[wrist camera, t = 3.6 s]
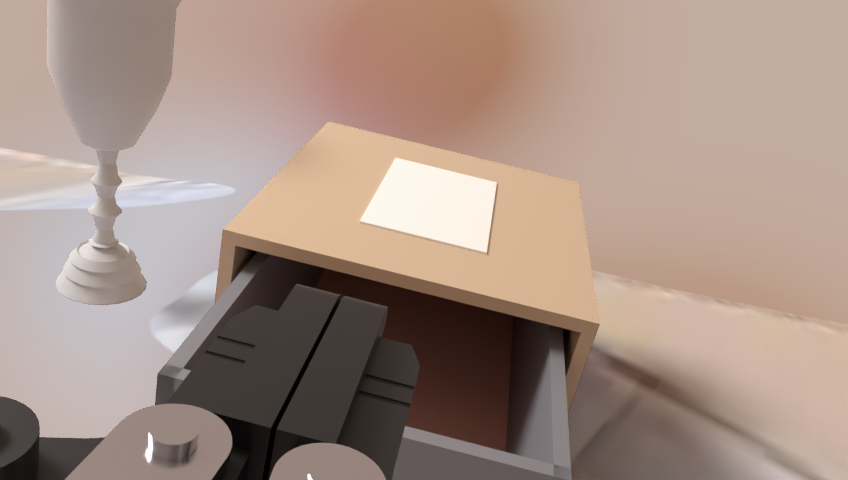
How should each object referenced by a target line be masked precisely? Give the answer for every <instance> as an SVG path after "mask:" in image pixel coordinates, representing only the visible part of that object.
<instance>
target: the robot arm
mask: <svg viewBox="0 0 848 480" xmlns="http://www.w3.org/2000/svg"><path fill="white" fill-rule="evenodd" d="M387 312H388V307H386V306H382V305H378V304H374V303H371V302H367V301H363V300H359V299H355V298H351V297H347V296H344V297H343V298H342V300H341V295H339V294H335V293H331V292H327V291H323V290H319V289H316V288H312V287H308V286H304V285H300V284H296V285H295V286H294V287H293V289H292V291H291V292H290V294H289V295H288V297H287V298H286V300H285V301H284V303H283V304H282V306H281V308H280V309H279V311H277V310H274V309H270V308H266V307H262V306H258V305H255V306H253V307H251V308H249V309H247V310H245V311H243V312H241V313H239V314H237V315H235V316H233V317H231V318H230V320H229V321H228V322H227V324H226V325H225V326H224V328H223V329H222V330H221V332H220V333H219V334H218V336H217V339H215V340H214V341H213V342H212V344H211V345H210V346H209V348H208V349H207V350H206V354H205V355H204V354H203V356H202V357H201V358H200V360H199V361H198V362H197V363H196V365H195V366H194V367H193V369H192V370H191V371H190V373H189V374H188V375H187V377H186V378H185V379H184V381H183V382H182V383H181V385H180V386H179V387H178V389H177V390H176V391H175V393H174V394H173V395H172V397H171V398H170V399H169V401H168V402H167V403H166V404H160V405H155V406H150V407H147V408H143V409H141V410H139V411H136V412H134V413H132V414H131V415H129V416H127V417H126V418H125V419H124V420H122V421H121V422H120V423H119V424H118V425H117V426H116V427H115V428H114V429H113V430H112V431H111V432H110V433H109V434H108V435H107V436H106V437H105V438H90V439H82V438H44V437H39V429H40V428H39V421H38V419H37V417H36V415H35V413H34V412H33V411H32V410H31V409H30V408H29V407H27V406H26V405H24V404H22V403H20V402H18V401H16V400H13V399H10V398H6V397H0V480H392V478H393V472H394V468H395V464H396V460H397V456H398V452H399V448H400V444H401V440H402V436H403V432H404V429H405V425H406V421H407V417H408V413H409V409H410V405H411V401H412V397H413V393H414V389H415V385H416V381H417V377H418V373H419V369H420V364H419V362H418V359H417V357H416V354H415V352H414V349H413V347H412V345H409V344H406V343H402V342H398V341H394V340H390V339H386V338H382V336H383V331H384V327H385V322H386V318H387Z"/></svg>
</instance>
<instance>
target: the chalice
mask: <svg viewBox="0 0 848 480" xmlns="http://www.w3.org/2000/svg"><path fill="white" fill-rule="evenodd" d="M180 2H181V0H47V66H48V69H49V72H50V74H51V77H52V80H53V83H54V85H55V88H56V91H57V94H58V97H59V99H60V101H61V103H62V105H63V107H64V109H65V111H66V113H67V115H68V117H69V119H70V121H71V123H72V125H73V127H74V129H75V130H76V132H77V134H78V136H79V138H80V140H81V142H82V143H84V144H85V145H87V146H90V147H92V148H95V149H97V154H98V160H99V162H98V166H97V170H96V173H95V175H94V176H93V177H92V178H91V182H92V183H93V184H94V186H95V188H96V192H97V198H96V201H95V204H94V205H92V206H91V207H90V208H89V209H88V211H89V213H90V214H92V215H93V216H94V220H95V225H96V231H95V234H94V237H93V238H91V239H90V240H88V241H85V242H83V243H81V244H80V245H79V246H77V247H76V248H75V249H74V250H73V251H72V252H71V253H70V256H69V259H68V261H67V262H66V263H65V265H64V268H63V272H62V273H61V274H60V275H59V276H58V278H57V281H56V287H57V289H58V291H59V292H60V293H61V294H63V295H64V296H65V297H67V298H69V299H71V300H74V301H76V302H81V303H86V304H95V305H109V304H118V303H122V302H126V301H129V300H132V299H134V298H136V297H137V296H139V295H141V294H142V292H143V291H144V290H145V289H146V283H147V282H146V280H145V278H144V276H143V275H142V274H141V268H140V266H139V264H138V263H137V261H136V256H135V254H134V252H133V251H132V250H131V249H130V248H129V247H128V246H126V245H125V244H124V243H121V242H119V241H118V239H116V238H115V237H114V232H113V225H114V222H115V218H116V217H117V216H118V215H119V214H121V213H122V210H121V208H120V207H119V206H117V204H116V201H115V197H114V195H115V192H116V190H117V187H118V186H119V185H120V184H121V183H122V180H121V179H120V177H119V176H118V172H117V166H116V159H117V156H118V152H119V150H123V149H126V148H130V147H132V146H134V145H135V144H136V142H137V140H138V139H139V137H140V136H141V134H142V132H143V131H144V129H145V127H146V126H147V124H148V123H149V121H150V120H151V118H152V116H153V115H154V113H155V112H156V110H157V108H158V106H159V104H160V101H161V99H162V97H163V95H164V92H165V90H166V88H167V86H168V83H169V81H170V78H171V74H172V60H173V46H174V33H175V20H176V8H177V7H178V5H179V3H180Z"/></svg>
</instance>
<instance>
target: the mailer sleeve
mask: <svg viewBox="0 0 848 480" xmlns="http://www.w3.org/2000/svg"><path fill="white" fill-rule="evenodd" d="M257 251H259V252H262V253H266V254H270V255H274V256H278V257H282V258H286V259H290V260H294V261H298V262H302V263H306V264H310V265H314V266H318V267H322V268H326V269H330V270H334V271H338V272H342V273H346V274H350V275H354V276H358V277H362V278H366V279H370V280H374V281H378V282H382V283H386V284H390V285H394V286H398V287H402V288H406V289H409V290H413V291H417V292H421V293H425V294H429V295H433V296H437V297H441V298H445V299H449V300H453V301H457V302H461V303H465V304H469V305H473V306H477V307H481V308H485V309H489V310H493V311H497V312H501V313H505V314H509V315H513V316H517V317H521V318H525V319H529V320H533V321H537V322H541V323H545V324H549V325H552V326H556V327H560V328H563V344H564V360H565V376H566V393H567V409H568V412H569V410H570V407H571V404H572V401H573V398H574V395H575V392H576V390H577V387H578V384H579V381H580V378H581V375H582V373H583V370H584V367H585V364H586V361H587V358H588V356H589V353H590V350H591V347H592V344H593V341H594V338H595V336H596V333H597V330H598V327H599V324H600V323H599V316H598V310H597V303H596V297H595V290H594V283H593V277H592V270H591V264H590V257H589V250H588V244H587V237H586V230H585V224H584V217H583V212H582V204H581V197H580V191H579V185H578V182H574V181H570V180H566V179H562V178H557V177H554V176H550V175H546V174H541V173H537V172H533V171H529V170H525V169H520V168H517V167H513V166H509V165H505V164H500V163H496V162H492V161H488V160H484V159H480V158H476V157H471V156H467V155H463V154H459V153H456V152H451V151H447V150H443V149H439V148H435V147H431V146H427V145H423V144H419V143H415V142H411V141H406V140H402V139H398V138H394V137H390V136H386V135H382V134H378V133H374V132H370V131H365V130H361V129H357V128H353V127H349V126H345V125H340V124H337V123H333V122H328V123H327V124H326V125H325V126H324V127H323V128H322V129H321V130H320V131H319V132H318V133H317V134H316V135H315V136H314V137H313V138H312V139H311V140H310V141H309V142H308V143H307V144H306V145H305V146H304V147H303V148H302V149H301V150H300V151H299V152H298V153H297V154H296V156H294V157H293V158H292V159H291V160H290V161H289V163H288V164H286V165H285V166H284V168H283V169H282V170H281V171H280V172H279V173H278V174H277V175H276V176H275V177H274V178H273V179H272V180H271V181H270V182H269V183H268V184H267V185H266V186H265V187H264V188H263V189H262V190H261V191H260V192H259V193H258V194H257V195H256V196H255V197H254V198H253V199H252V200H251V201H250V202H249V203H248V205H246V206H245V207H244V208H243V209H242V210H241V212H239V214H238V215H236V217H235V218H234V219H233V220H232V221H231V222H230V223H229V224H228V225H227V226H226V227H225V228H224V229H223V233H222V243H221V251H220V260H219V269H218V278H217V287H216V295H215V303H216V302H217V300H218V299H219V298H220V297H221V295H222V294H223V293H224V292H225V291H226V289H227V288H228V287H229V286H230V284H231V283H232V282H233V281H234V280H235V278H236V277H237V276H238V275H239V273H240V272H241V271H242V270H243V269H244V267H245V266H246V265H247V264H248V262H249V261H250V260H251V259H252V257H253V256H254V255H255V254H256V253H257Z"/></svg>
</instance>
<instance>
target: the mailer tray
mask: <svg viewBox="0 0 848 480" xmlns="http://www.w3.org/2000/svg"><path fill="white" fill-rule="evenodd" d="M296 284H300V285H304V286H308V287H312V288H316V289H319V290H323V291H327V292H331V293H335V294H339V295H341V300H342V298H343V297H344V296H347V297H351V298H355V299H359V300H363V301H367V302H371V303H374V304H378V305H382V306H386V307H388V312H387V318H386V322H385V327H384V331H383V336H382V338H386V339H390V340H394V341H398V342H402V343H406V344H409V345H412V347H413V349H414V352H415V354H416V357H417V359H418V362H419V364H420V369H419V373H418V377H417V381H416V385H415V389H414V393H413V397H412V401H411V405H410V409H409V413H408V417H407V421H406V425H405V429H404V432H403V436H402V440H401V444H400V448H399V452H398V456H397V460H396V464H395V468H394V472H393V478H392V480H572V475H571V458H570V442H569V425H568V409H567V393H566V376H565V360H564V344H563V328H560V327H556V326H552V325H549V324H545V323H541V322H537V321H533V320H529V319H525V318H521V317H517V316H513V315H509V314H505V313H501V312H497V311H493V310H489V309H485V308H481V307H477V306H473V305H469V304H465V303H461V302H457V301H453V300H449V299H445V298H441V297H437V296H433V295H429V294H425V293H421V292H417V291H413V290H409V289H406V288H402V287H398V286H394V285H390V284H386V283H382V282H378V281H374V280H370V279H366V278H362V277H358V276H354V275H350V274H346V273H342V272H338V271H334V270H330V269H326V268H322V267H318V266H314V265H310V264H306V263H302V262H298V261H294V260H290V259H286V258H282V257H278V256H274V255H270V254H266V253H262V252H259V251H257V253H256V254H255V255H254V256H253V257H252V259H251V260H250V261H249V262H248V264H247V265H246V266H245V267H244V269H243V270H242V271H241V272H240V273H239V275H238V276H237V277H236V278H235V280H234V281H233V282H232V283H231V284H230V286H229V287H228V288H227V289H226V291H225V292H224V293H223V294H222V295H221V297H220V298H219V299H218V300H217V302H216V303H215V304H214V305H213V307H212V308H211V309H210V310H209V311H208V313H207V314H206V315H205V316H204V318H203V319H202V320H201V321H200V322H199V324H198V325H197V326H196V327H195V329H194V330H193V331H192V332H191V333H190V335H189V336H188V337H187V338H186V340H185V341H184V342H183V343H182V345H181V346H180V347H179V348H178V349H177V351H176V352H175V353H174V354H173V356H172V357H171V358H170V360H168V362H167V363H166V364H165V365H164V367H163V368H162V369H161V370H160V372H159V373H158V377H157V390H156V402H155V405H160V404H166V403H167V402H168V401H169V399H170V398H171V397H172V395H173V394H174V393H175V391H176V390H177V389H178V387H179V386H180V385H181V383H182V382H183V381H184V379H185V378H186V377H187V375H188V374H189V373H190V371H191V370H192V369H193V367H194V366H195V365H196V363H197V362H198V361H199V360H200V358H201V357H202V356H203V354H204V355H205V354H206V350H207V349H208V348H209V346H210V345H211V344H212V342H213V341H214V340H215V339H217V336H218V334H219V333H220V332H221V330H222V329H223V328H224V326H225V325H226V324H227V322H228V321H229V320H230V318H231V317H233V316H235V315H237V314H239V313H241V312H243V311H245V310H247V309H249V308H251V307H253V306H255V305H258V306H262V307H266V308H270V309H274V310H277V311H279V309H280V308H281V306H282V304H283V303H284V301H285V300H286V298H287V297H288V295H289V294H290V292H291V291H292V289H293V287H294V286H295V285H296Z"/></svg>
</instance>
